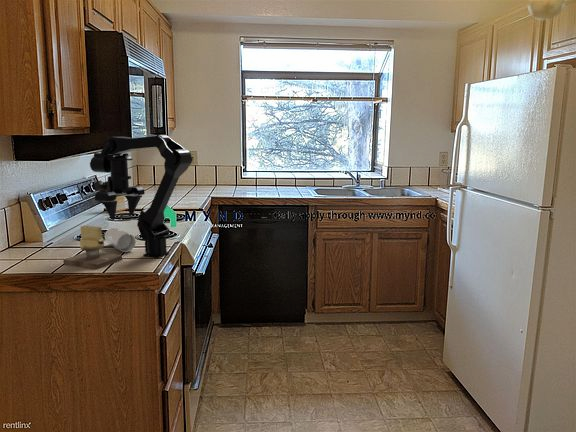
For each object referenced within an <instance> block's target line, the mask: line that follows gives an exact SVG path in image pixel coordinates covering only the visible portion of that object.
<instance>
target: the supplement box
mask: <svg viewBox="0 0 576 432" xmlns="http://www.w3.org/2000/svg"><path fill="white" fill-rule="evenodd" d="M114 201H117V207H116V213H117V212H121V211H126V210H127V209H126V197H125V195H124V196H118V197H117V198H116V199H115V200H114Z"/></svg>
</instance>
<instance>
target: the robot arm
mask: <svg viewBox="0 0 576 432" xmlns="http://www.w3.org/2000/svg"><path fill="white" fill-rule="evenodd" d="M149 148H150V149H151V148H157V150H158V152H159V153H160V157H162V158H163V159H164V162H163V165H164V167H163V168H164V173H163V176H162V179H161V181H160V183H159V185H158V188H157V190H156V192H155V194H154V196H153V199H152V201H151V203H150V206H149V208H146V209H142V210H140V213H139V216H138V218H137V219H136V221H137V224H136V226H137V228H138V230H139V234H140V236H141V240H145V241H144V250H145V251H144V252H145V253H143V256H144V257H149V258H157V259H158V258H161V257H163V256H166V255H168V254H170V251H167V237H168V236H169V234H170V228H168V226H167V225H166V224H165V213H164V212H165V209H166V208H167V205H168V204H169V201H170V199H171V197H172V194H173V192H174V190H175V188H176V185H177V183H178V181H179V179H180V177H181V176H182V175H183V174H184V173H185V172H186V171H187V170H189V168H190V165H191V164H192V163H193V156H192V154H191V151H189V150H188V149H185V147H183V146H182V145H181V144H179V143H177V142H176V141H175V140H173V139H172V138H171V137H170V136H168V135H167V134H156V135H151V136H143V137H129V136H109V137H107V138H106V140H105V143H104V145H103V147H102V149H101V152H94V153H93V156H92V158H91V159H90V162H89V166H90V169H91V170H92V172H94V173H104V174H105V173H107V174H108V173H110V176H107V181H102V180H97V181H94V189H95V191H96V192H95V193H94V200H95V201H97V202H98V203H101V204H102V205H103V206H104V207H105V209H106V212H107V214H108V216H109V217H110V220H111V221H114V220H115V219H116V215H117V214H116V213H117V212H116V207H117V201H114V200H115V199H116V198H117V197H118V196H124V195H125V200H127V206H128V207H127V209H128V214H129V216H133V215H134V213H135V211H136V209H137V206H138V204H139V202H140V200H141V199H142V198H143V196H144V195H145V194H146V193H145V188H144V187H143V186H140V185H139V186H137V185H131V186H130V185H129V184H130V182H129V181H130V180H131V179H132V176H131V175H129V167H128V161H132V160H133V158H132V157H131V155H129V154H128V153H130V152H132V151H135V150H138V149H149Z"/></svg>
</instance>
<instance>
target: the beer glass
mask: <svg viewBox="0 0 576 432" xmlns="http://www.w3.org/2000/svg"><path fill="white" fill-rule="evenodd" d="M104 240H105V242H106V243H107V244H108V245H109V244H110V245H111V246H113V248H114V249H116V250H118V251H120V252H123V253H129V252H131V251H132V250H133V249H134V248H135V246H136V243H137V242H136V238H135V236H134V235H132V233H130V232H128V231H124V230H120V229H118V228H114V227H110V228H109V229H107V230H106V232H105V233H104Z"/></svg>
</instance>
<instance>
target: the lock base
mask: <svg viewBox="0 0 576 432" xmlns="http://www.w3.org/2000/svg"><path fill="white" fill-rule="evenodd" d="M62 260H63V265H67V266H68V265H69V266H76V267H81V268H82V267H83V268H88V269H94V270H99V269H101V268H104V267H107V266H109V265H112V264H115V263H118V262H120V261H122V260H123V255H122V254H121V255H120V254H114V253H113V254H112V253H108V252H107V253H106V252H100V249H99V250H94V251H85V252H82V253H79V254H76V255H73V256H70V257H66V258H64V259H62Z"/></svg>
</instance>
